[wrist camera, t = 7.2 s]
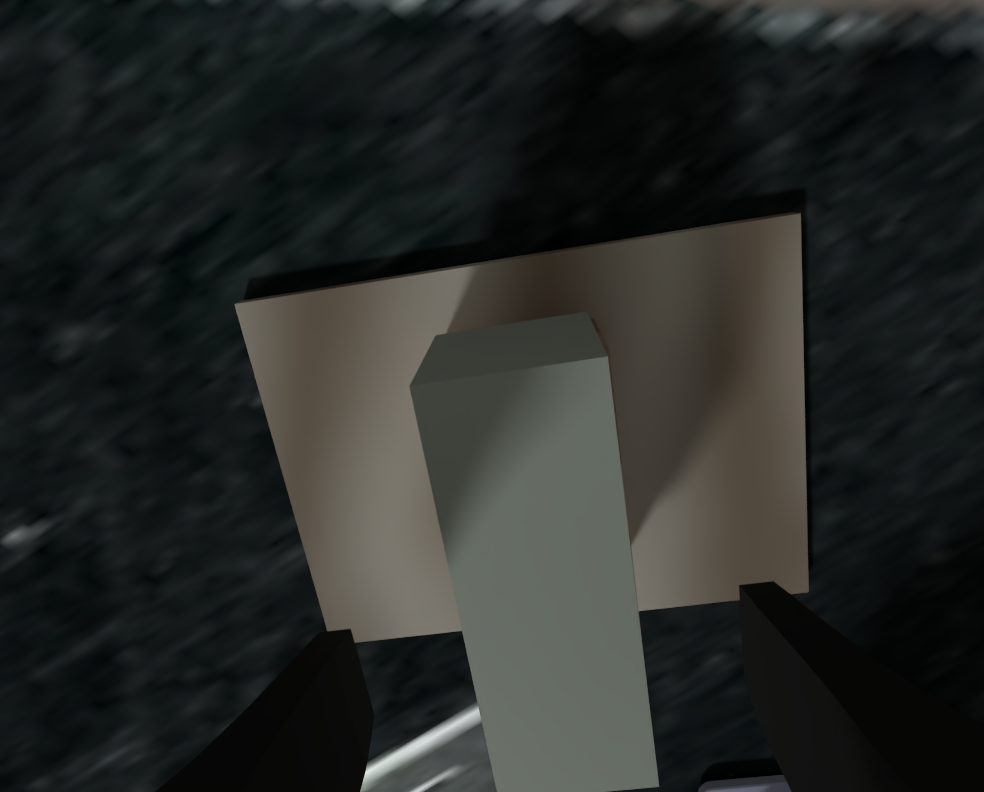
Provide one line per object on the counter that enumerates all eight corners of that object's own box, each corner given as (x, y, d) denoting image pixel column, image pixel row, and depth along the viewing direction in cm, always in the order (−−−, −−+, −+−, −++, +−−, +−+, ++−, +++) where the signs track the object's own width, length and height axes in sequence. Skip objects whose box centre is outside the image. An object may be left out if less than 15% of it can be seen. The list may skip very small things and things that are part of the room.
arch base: (792, 212, 19) (863, 223, 15) (801, 581, 22) (860, 667, 19) (242, 300, 20) (176, 331, 16) (335, 633, 24) (299, 724, 20)
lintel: (586, 311, 16) (607, 356, 12) (631, 662, 19) (659, 786, 15) (436, 335, 16) (409, 386, 12) (503, 676, 19) (499, 801, 15)
